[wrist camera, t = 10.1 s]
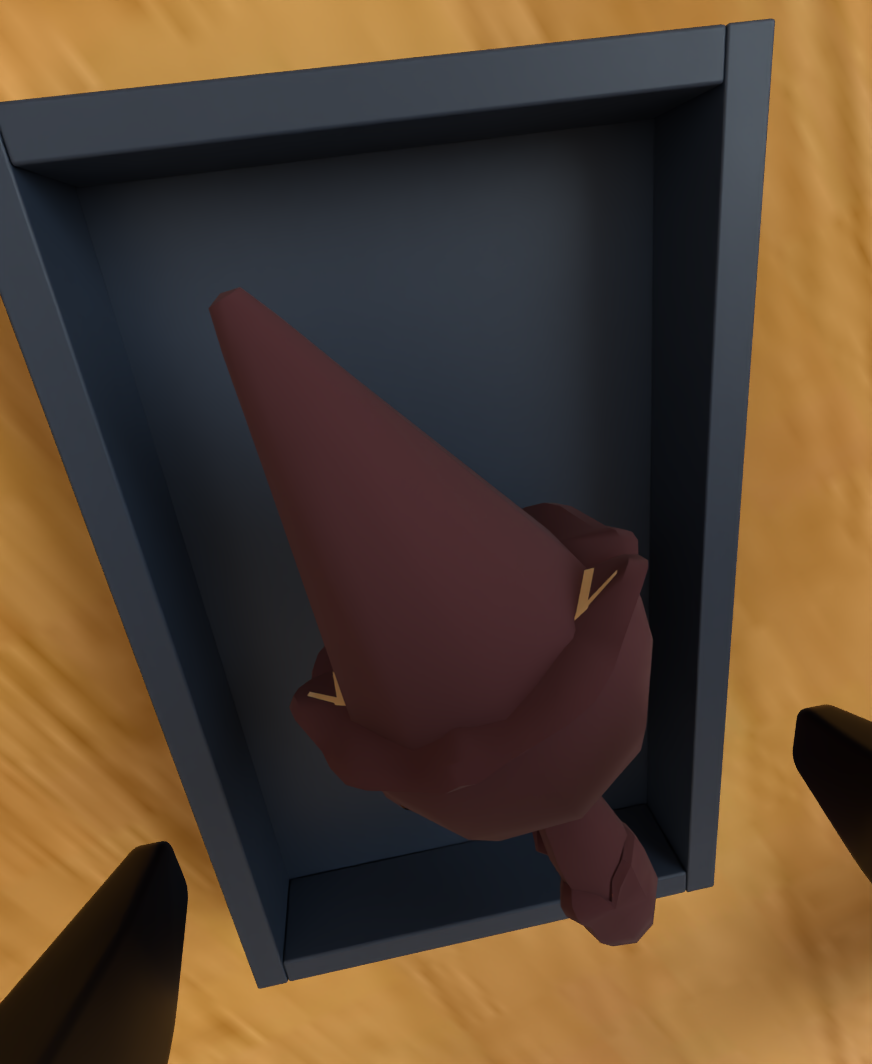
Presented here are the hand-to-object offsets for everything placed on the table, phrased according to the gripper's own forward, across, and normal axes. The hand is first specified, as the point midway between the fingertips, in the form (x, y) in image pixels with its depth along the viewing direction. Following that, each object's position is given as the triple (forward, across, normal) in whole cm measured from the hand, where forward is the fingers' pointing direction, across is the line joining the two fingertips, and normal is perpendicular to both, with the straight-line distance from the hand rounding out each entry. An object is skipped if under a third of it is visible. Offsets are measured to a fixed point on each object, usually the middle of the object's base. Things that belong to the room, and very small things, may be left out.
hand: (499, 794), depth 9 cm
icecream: (+7, 0, 0) cm, 7 cm away
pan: (+8, 0, 0) cm, 8 cm away
